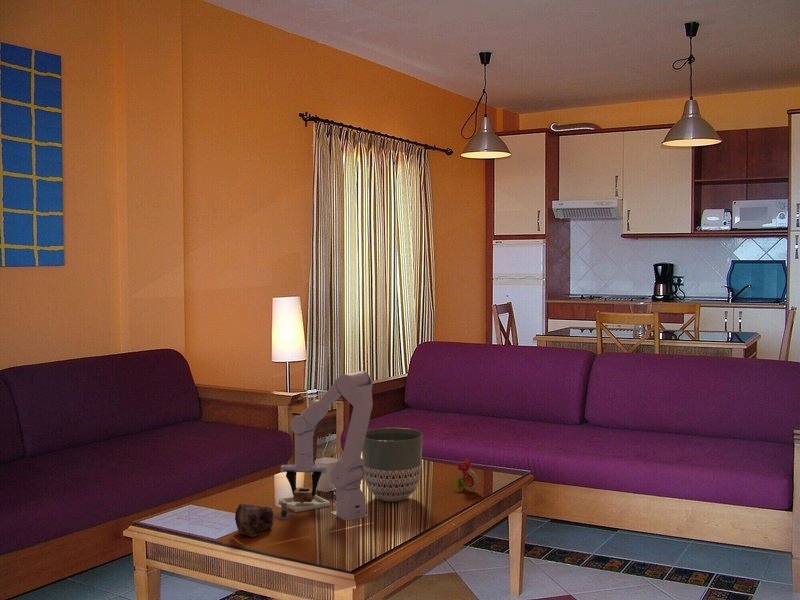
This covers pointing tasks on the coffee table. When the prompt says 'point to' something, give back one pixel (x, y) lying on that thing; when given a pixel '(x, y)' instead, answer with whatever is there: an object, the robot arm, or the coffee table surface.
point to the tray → (298, 506)
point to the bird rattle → (467, 482)
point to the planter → (392, 462)
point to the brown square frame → (303, 495)
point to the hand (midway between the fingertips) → (304, 494)
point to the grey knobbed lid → (283, 513)
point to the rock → (253, 519)
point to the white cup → (326, 474)
